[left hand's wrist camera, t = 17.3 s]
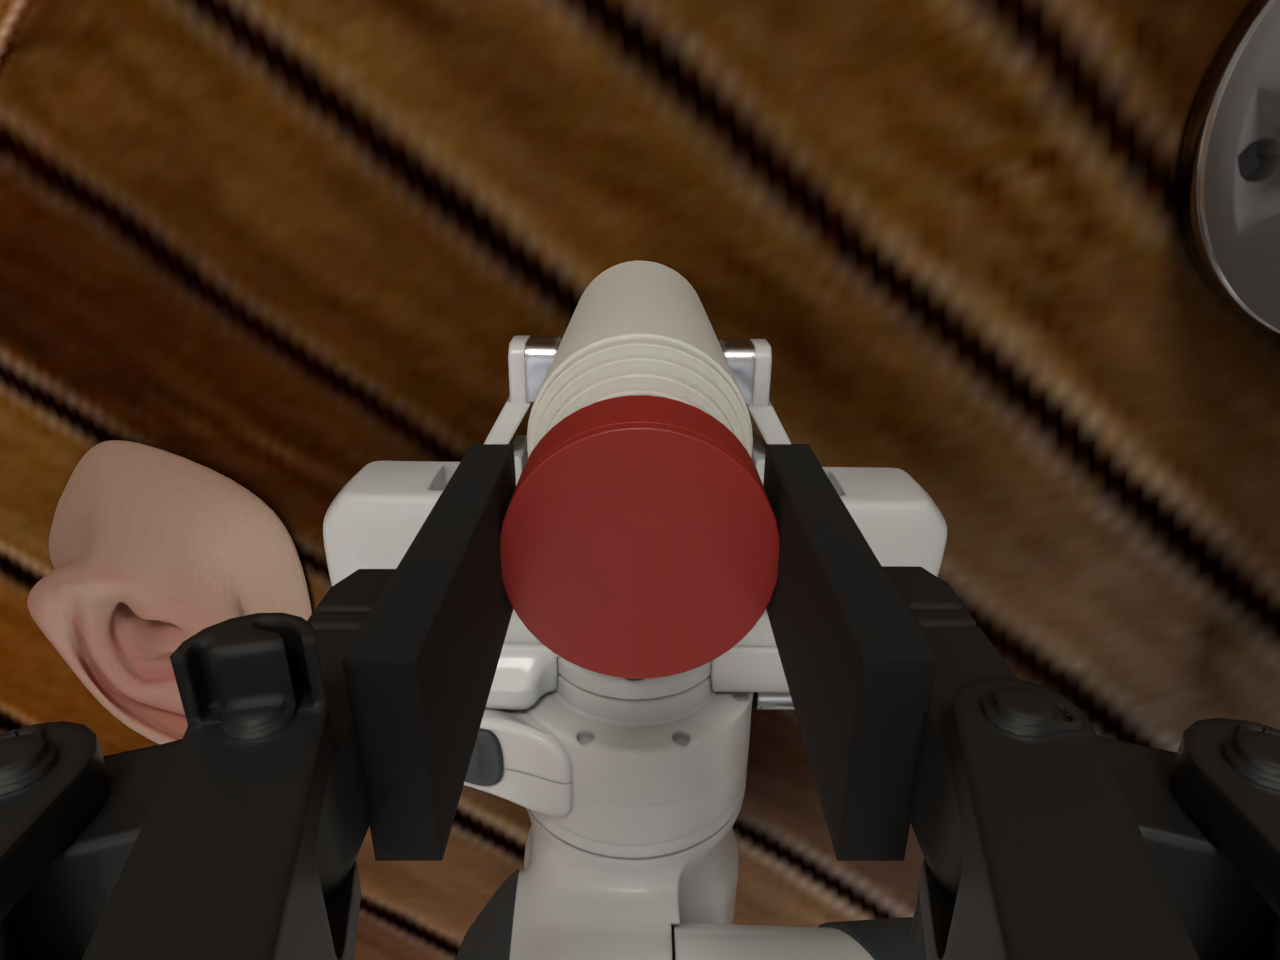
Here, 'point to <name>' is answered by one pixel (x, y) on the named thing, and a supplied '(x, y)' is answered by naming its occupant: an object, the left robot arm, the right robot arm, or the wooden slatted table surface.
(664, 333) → the bottle
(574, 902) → the right robot arm
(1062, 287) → the wooden slatted table surface
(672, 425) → the cap
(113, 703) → the anatomical model
